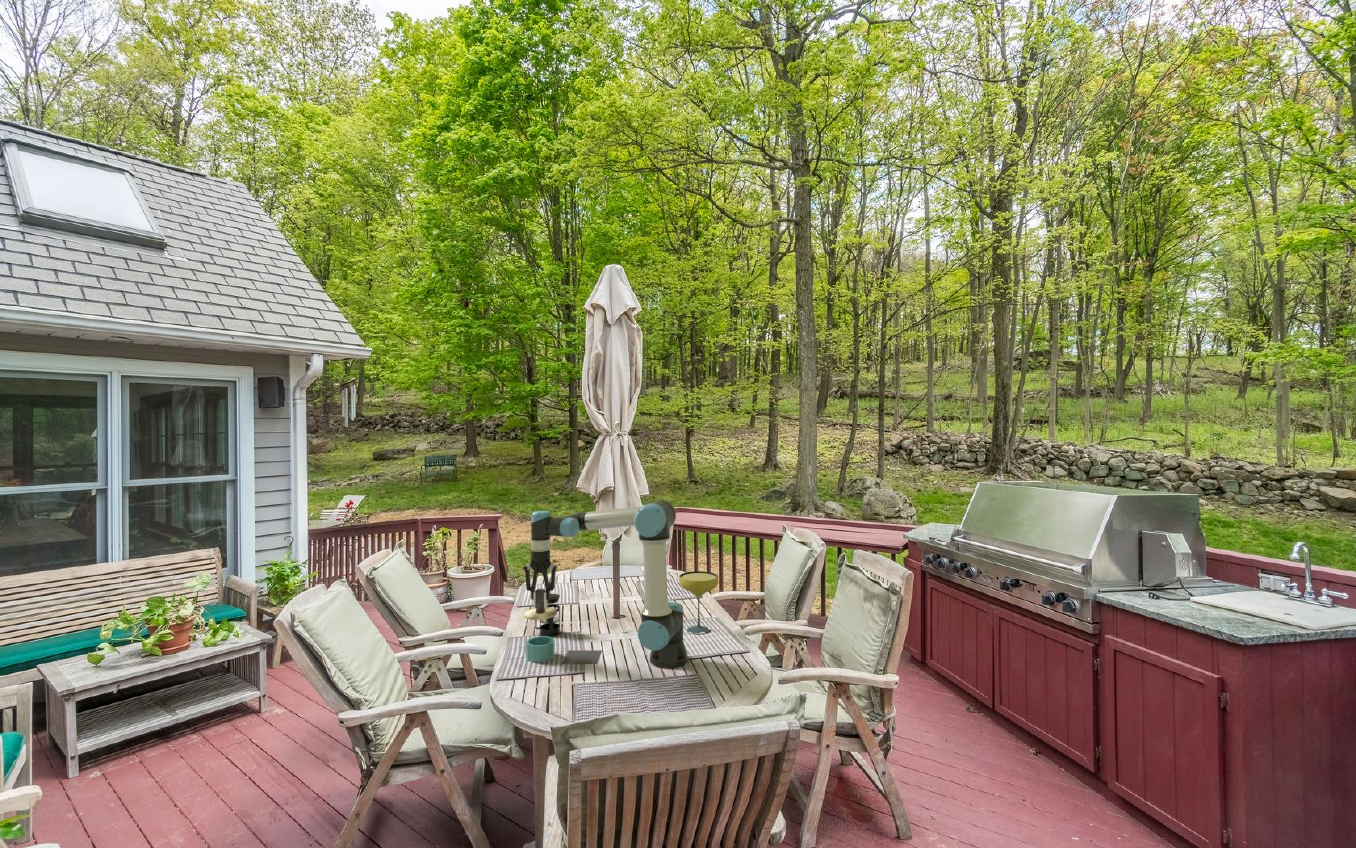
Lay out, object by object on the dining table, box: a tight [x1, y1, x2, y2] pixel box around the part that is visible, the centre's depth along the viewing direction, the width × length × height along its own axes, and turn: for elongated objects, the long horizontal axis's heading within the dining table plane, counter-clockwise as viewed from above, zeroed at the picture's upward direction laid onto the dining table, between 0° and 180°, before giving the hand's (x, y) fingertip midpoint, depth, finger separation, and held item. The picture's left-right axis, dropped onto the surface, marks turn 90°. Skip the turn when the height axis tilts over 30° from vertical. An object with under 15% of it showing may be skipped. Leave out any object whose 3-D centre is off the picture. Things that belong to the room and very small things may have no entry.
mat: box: [561, 649, 602, 665], centre depth 236 cm, size 14×14×1 cm
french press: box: [534, 581, 561, 638], centre depth 264 cm, size 12×9×23 cm
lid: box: [523, 588, 558, 621], centre depth 236 cm, size 13×13×10 cm
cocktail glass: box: [678, 570, 719, 634], centre depth 268 cm, size 18×18×25 cm
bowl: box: [525, 635, 556, 664], centre depth 236 cm, size 11×11×7 cm
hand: (540, 607), depth 236 cm, fingers closed on lid, 3 cm apart
